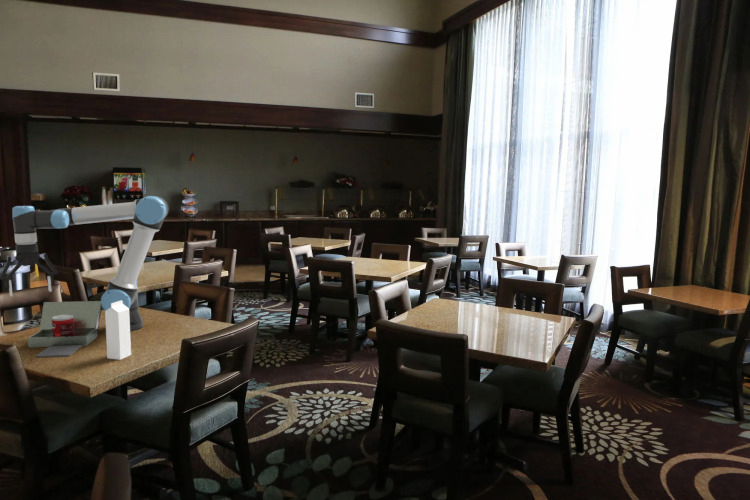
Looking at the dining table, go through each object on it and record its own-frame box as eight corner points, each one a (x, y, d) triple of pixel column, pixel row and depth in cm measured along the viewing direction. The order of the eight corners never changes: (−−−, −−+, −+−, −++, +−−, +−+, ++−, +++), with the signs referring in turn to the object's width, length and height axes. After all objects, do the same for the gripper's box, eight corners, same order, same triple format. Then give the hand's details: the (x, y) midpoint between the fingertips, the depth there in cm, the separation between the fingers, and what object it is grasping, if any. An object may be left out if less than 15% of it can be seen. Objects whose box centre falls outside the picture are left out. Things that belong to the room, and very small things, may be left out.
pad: (81, 346, 208) (81, 345, 208) (69, 356, 196) (69, 354, 196) (50, 347, 206) (50, 346, 206) (35, 357, 194) (35, 355, 194)
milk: (107, 358, 194) (103, 302, 192) (118, 353, 200) (115, 299, 197) (120, 360, 193) (117, 303, 190) (131, 354, 199) (128, 300, 196)
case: (104, 333, 226) (102, 300, 224) (89, 345, 209) (87, 310, 207) (46, 335, 222) (44, 301, 220) (26, 347, 205) (24, 311, 203)
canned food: (59, 339, 216) (57, 314, 215) (78, 339, 217) (77, 314, 216) (49, 345, 209) (47, 319, 207) (69, 344, 210) (67, 319, 208)
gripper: (59, 240, 219) (63, 288, 222) (-13, 244, 203) (-7, 296, 206) (62, 241, 213) (67, 290, 216) (-11, 246, 197) (-6, 299, 200)
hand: (31, 293), depth 211 cm, fingers open, 13 cm apart
